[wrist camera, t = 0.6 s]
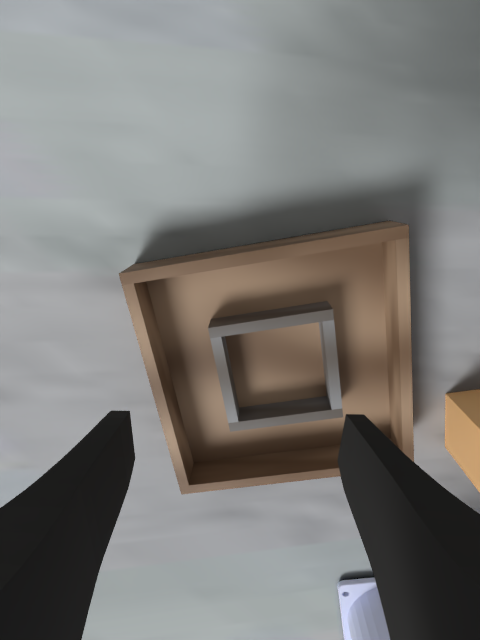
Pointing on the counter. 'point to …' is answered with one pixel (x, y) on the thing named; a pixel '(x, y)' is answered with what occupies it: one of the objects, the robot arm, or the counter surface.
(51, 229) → the counter surface
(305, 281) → the box
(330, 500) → the counter surface
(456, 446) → the plug
